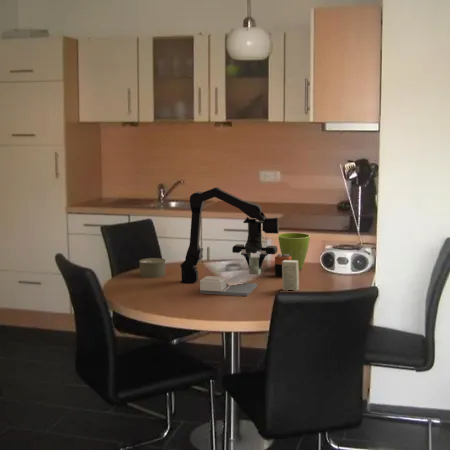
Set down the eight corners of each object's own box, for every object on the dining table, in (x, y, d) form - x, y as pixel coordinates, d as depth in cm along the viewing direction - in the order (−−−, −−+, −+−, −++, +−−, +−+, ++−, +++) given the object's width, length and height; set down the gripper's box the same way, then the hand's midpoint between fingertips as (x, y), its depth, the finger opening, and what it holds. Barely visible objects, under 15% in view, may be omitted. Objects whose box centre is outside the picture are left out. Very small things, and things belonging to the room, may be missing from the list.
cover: (200, 290, 274) (200, 279, 273) (205, 286, 281) (205, 275, 280) (221, 291, 272) (221, 280, 271) (226, 287, 278) (226, 276, 277)
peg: (249, 274, 289) (249, 258, 288) (251, 272, 292) (251, 256, 291) (258, 274, 287) (258, 258, 286) (260, 272, 291) (260, 256, 290)
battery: (289, 277, 301) (289, 255, 299) (274, 276, 303) (274, 254, 302) (291, 275, 305) (291, 253, 303) (277, 274, 307) (277, 252, 306)
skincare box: (299, 288, 280) (299, 260, 278) (297, 291, 276) (297, 262, 274) (284, 287, 282) (284, 259, 280) (281, 290, 278) (281, 261, 276)
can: (170, 275, 308) (169, 261, 307) (147, 279, 302) (146, 264, 301) (158, 271, 318) (157, 256, 317) (135, 274, 312) (134, 260, 311)
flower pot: (311, 271, 311) (311, 238, 309) (279, 272, 312) (279, 238, 309) (308, 265, 326) (308, 232, 324) (277, 265, 326) (277, 233, 324)
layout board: (199, 293, 275) (199, 290, 275) (212, 283, 291) (212, 280, 291) (247, 296, 270) (246, 293, 269) (257, 286, 286) (256, 283, 286)
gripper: (228, 235, 282) (229, 271, 285) (272, 237, 277) (272, 274, 279) (235, 231, 293) (236, 266, 295) (277, 232, 288) (277, 268, 290)
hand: (254, 268), depth 290 cm, fingers closed on peg, 4 cm apart
